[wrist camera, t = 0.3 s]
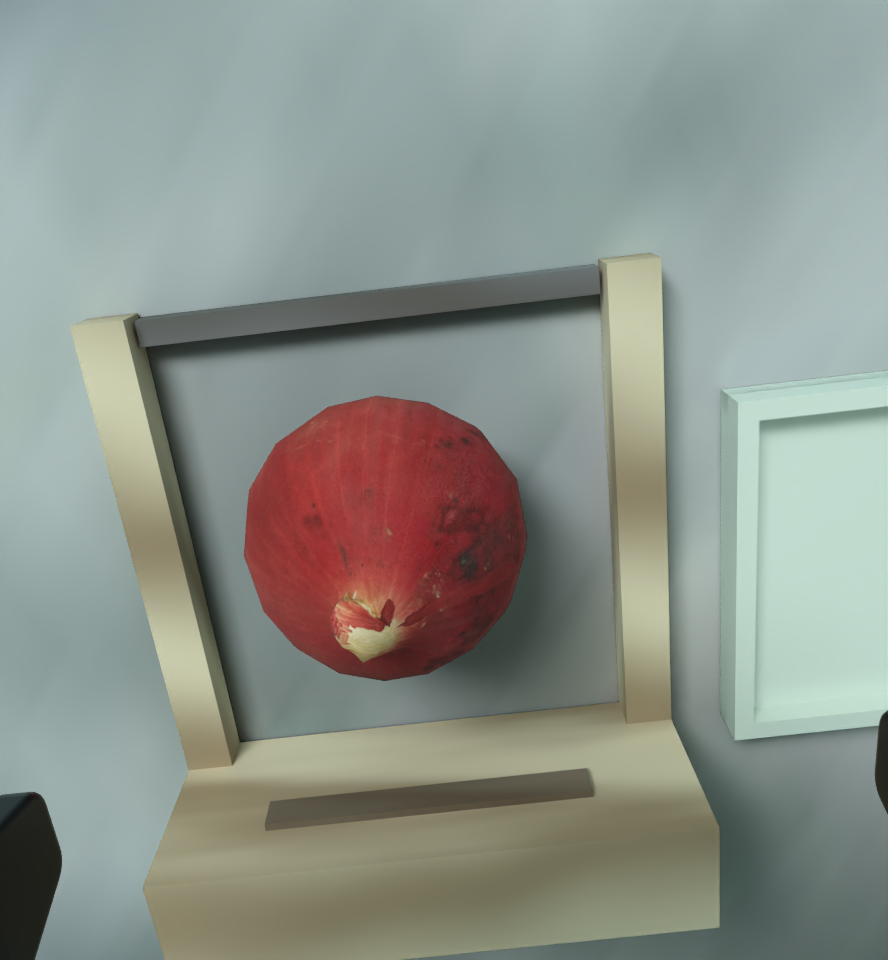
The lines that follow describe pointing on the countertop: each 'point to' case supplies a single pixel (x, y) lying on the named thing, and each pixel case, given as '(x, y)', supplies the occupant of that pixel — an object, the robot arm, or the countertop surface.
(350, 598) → the onion
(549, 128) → the countertop surface
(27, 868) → the robot arm
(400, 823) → the open rectangular frame
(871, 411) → the tray
